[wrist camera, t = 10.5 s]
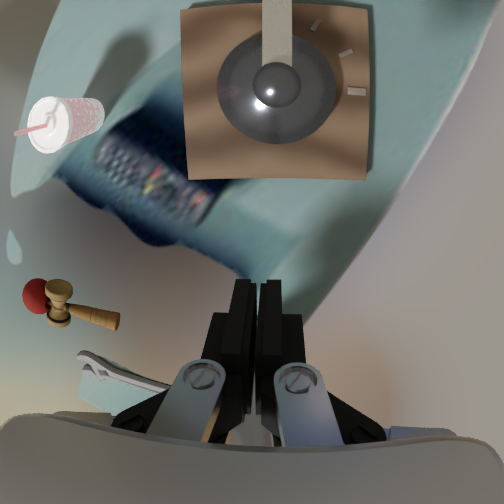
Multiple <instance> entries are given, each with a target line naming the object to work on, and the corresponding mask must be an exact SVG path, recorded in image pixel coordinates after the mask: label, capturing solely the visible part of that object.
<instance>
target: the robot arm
mask: <svg viewBox="0 0 504 504" xmlns="http://www.w3.org/2000/svg"><path fill="white" fill-rule="evenodd" d="M0 504H504V463H503V462H502V460H501V458H500V457H499V455H498V453H497V452H496V451H495V450H494V449H493V448H492V447H491V446H490V445H489V444H487V443H485V442H483V441H480V440H478V439H474V438H469V437H461V436H457V435H456V434H455V433H454V432H452V431H451V430H449V429H444V428H418V427H400V426H391V427H390V429H385V428H382V427H381V426H380V425H379V424H378V423H377V422H375V421H373V420H372V419H370V418H368V417H367V416H365V415H363V414H362V413H360V412H359V411H357V410H356V409H354V408H353V407H351V406H349V405H348V404H346V403H345V402H343V401H341V400H340V399H338V398H337V397H335V396H334V395H332V394H331V393H329V392H328V391H327V390H326V387H325V384H324V381H323V378H322V375H321V374H320V372H319V371H318V370H317V369H316V368H315V367H313V366H311V365H309V364H306V358H305V345H304V334H303V323H302V315H301V314H282V294H281V280H267V283H261V287H260V299H259V310H258V320H257V286H256V283H251V279H236V281H235V286H234V290H233V295H232V300H231V304H230V309H229V313H217V312H215V313H213V316H212V320H211V323H210V327H209V330H208V334H207V338H206V341H205V345H204V349H203V353H202V356H201V359H199V360H194V361H191V362H189V363H187V364H186V365H184V366H183V367H182V368H181V369H180V371H179V373H178V374H177V376H176V378H175V380H174V382H173V384H172V385H171V387H170V388H168V389H166V390H164V391H162V392H161V393H159V394H157V395H155V396H153V397H151V398H149V399H147V400H145V401H143V402H140V403H138V404H136V405H134V406H132V407H130V408H128V409H126V410H124V411H122V412H121V413H119V414H118V415H117V416H112V415H111V413H92V412H70V411H60V412H56V413H54V414H42V413H34V414H23V415H18V416H14V417H12V418H10V419H8V420H7V421H5V422H4V423H3V424H2V425H1V426H0Z"/></svg>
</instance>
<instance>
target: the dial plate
mask: <svg viewBox="0 0 504 504" xmlns="http://www.w3.org/2000/svg"><path fill="white" fill-rule="evenodd" d="M180 18H181V62H182V87H183V106H184V123H185V138H186V152H187V165H188V177H189V180H192V179H223V178H314V179H345V180H366V171H367V156H368V137H369V107H370V60H369V31H368V14H367V9H362V8H354V7H346V6H336V5H325V4H309V3H292V35H295V36H297V37H300V38H302V39H304V40H306V41H308V42H309V43H311V44H312V45H314V46H315V47H316V48H317V49H318V50H320V52H321V53H322V54H323V55H324V56H325V57H326V59H327V60H328V62H329V64H330V66H331V68H332V70H333V73H334V76H335V82H336V98H335V102H334V106H333V108H332V111H331V113H330V115H329V117H328V118H327V120H326V121H325V122H324V124H323V125H322V126H321V127H320V128H319V129H318V130H317V131H315V132H314V133H313V134H311V135H309V136H308V137H306V138H304V139H301V140H299V141H296V142H292V143H287V144H268V143H263V142H259V141H256V140H253V139H251V138H249V137H247V136H245V135H244V134H242V133H241V132H239V131H238V130H237V129H236V128H235V127H234V126H233V125H232V124H231V123H230V122H229V121H228V119H227V118H226V116H225V115H224V113H223V111H222V109H221V106H220V104H219V100H218V96H217V79H218V74H219V71H220V68H221V66H222V64H223V62H224V60H225V58H226V57H227V56H228V54H229V53H230V52H231V51H232V50H233V49H234V48H235V47H236V46H237V45H239V44H240V43H242V42H243V41H245V40H246V39H249V38H251V37H253V36H256V35H260V34H262V3H244V4H228V5H217V6H207V7H199V8H191V9H184V10H180Z"/></svg>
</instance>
